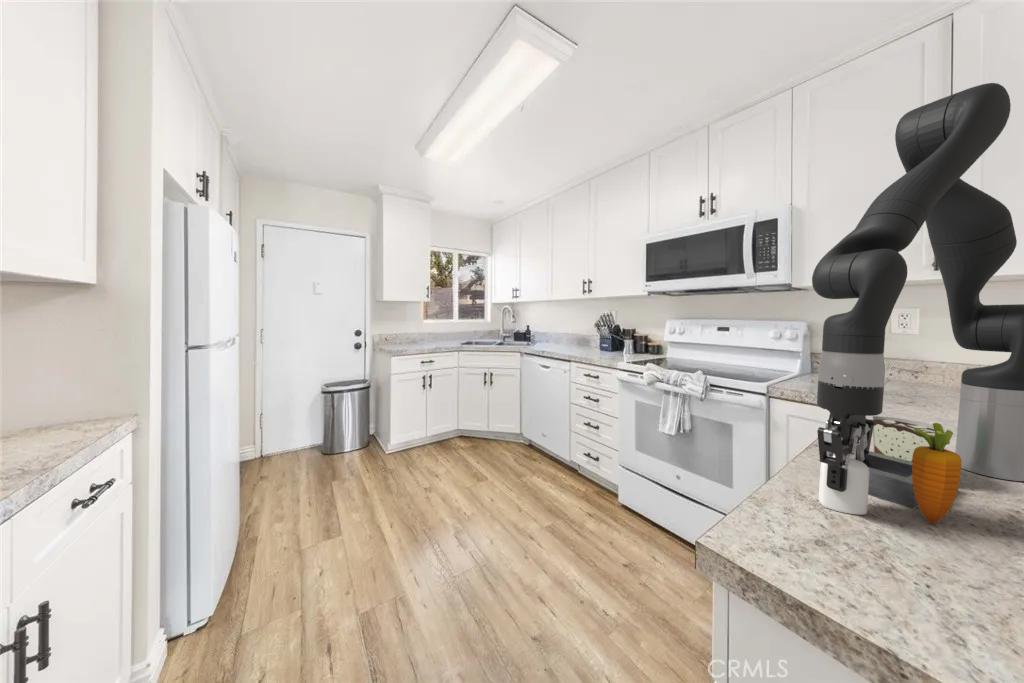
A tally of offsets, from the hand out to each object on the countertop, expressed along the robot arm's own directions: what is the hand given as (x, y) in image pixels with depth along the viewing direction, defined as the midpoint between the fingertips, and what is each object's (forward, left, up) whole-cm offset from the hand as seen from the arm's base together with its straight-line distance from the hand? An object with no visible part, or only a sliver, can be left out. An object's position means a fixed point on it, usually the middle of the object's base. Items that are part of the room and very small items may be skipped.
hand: (843, 485), depth 57 cm
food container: (-29, +1, -4) cm, 29 cm away
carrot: (-7, +8, -4) cm, 11 cm away
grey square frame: (-17, 0, -4) cm, 17 cm away
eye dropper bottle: (0, 0, -4) cm, 4 cm away
